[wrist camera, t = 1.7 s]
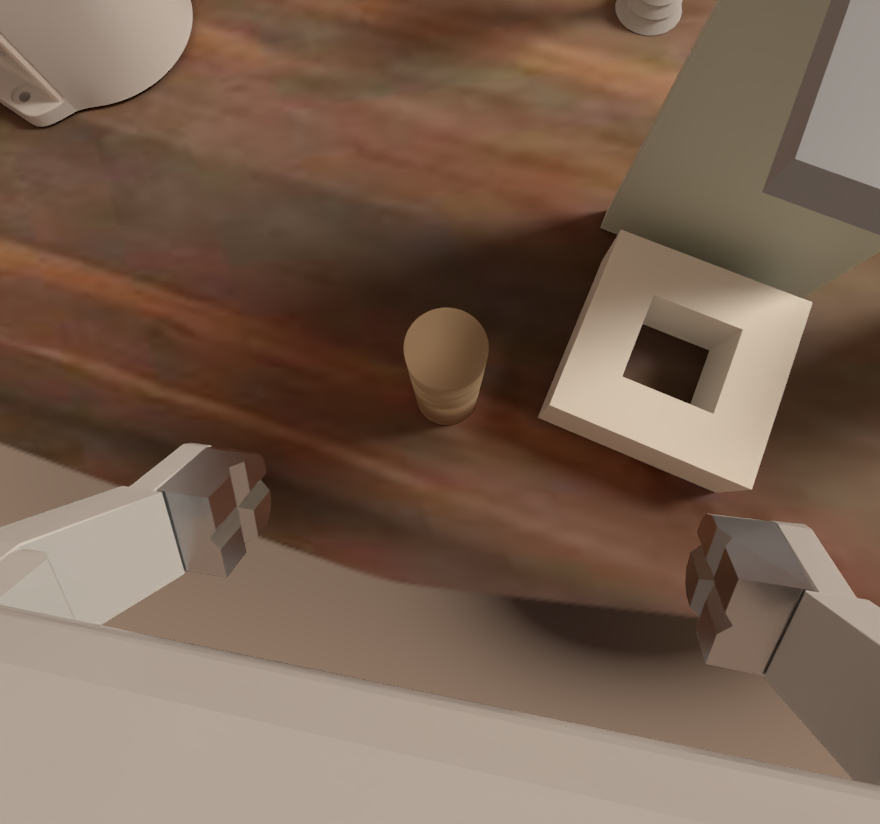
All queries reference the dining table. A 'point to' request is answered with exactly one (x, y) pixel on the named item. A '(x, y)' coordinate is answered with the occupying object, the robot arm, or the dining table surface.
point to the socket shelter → (731, 233)
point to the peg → (446, 363)
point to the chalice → (649, 15)
